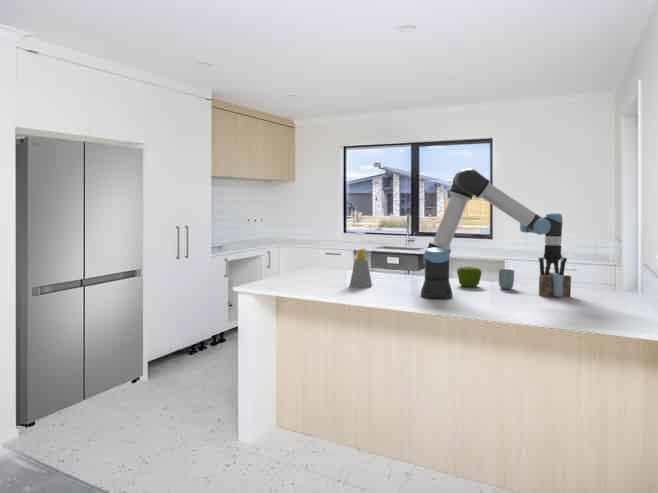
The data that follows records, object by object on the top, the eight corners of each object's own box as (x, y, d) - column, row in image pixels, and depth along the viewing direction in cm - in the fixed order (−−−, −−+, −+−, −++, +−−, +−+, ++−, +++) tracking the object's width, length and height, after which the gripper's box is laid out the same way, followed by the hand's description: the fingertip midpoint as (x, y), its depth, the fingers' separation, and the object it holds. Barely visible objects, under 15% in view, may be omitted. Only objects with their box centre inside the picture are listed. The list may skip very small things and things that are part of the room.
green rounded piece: (485, 286, 272) (485, 266, 271) (470, 289, 265) (470, 267, 264) (467, 283, 283) (467, 263, 282) (452, 285, 276) (452, 265, 275)
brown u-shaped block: (540, 296, 245) (541, 276, 244) (538, 295, 248) (539, 275, 247) (570, 296, 244) (571, 276, 243) (567, 295, 247) (568, 275, 246)
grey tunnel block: (546, 291, 252) (547, 272, 251) (552, 291, 252) (553, 272, 251) (555, 296, 240) (556, 275, 239) (562, 296, 240) (563, 275, 239)
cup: (514, 290, 261) (515, 271, 260) (499, 289, 263) (499, 271, 262) (512, 287, 269) (513, 269, 268) (497, 287, 270) (497, 269, 270)
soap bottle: (376, 285, 277) (376, 248, 275) (365, 288, 266) (365, 250, 265) (356, 283, 284) (356, 247, 282) (345, 286, 273) (345, 249, 271)
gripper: (539, 245, 245) (537, 292, 247) (572, 245, 244) (570, 293, 246) (533, 243, 252) (532, 289, 254) (566, 244, 251) (564, 290, 253)
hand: (551, 291), depth 250 cm, fingers closed on grey tunnel block, 3 cm apart
